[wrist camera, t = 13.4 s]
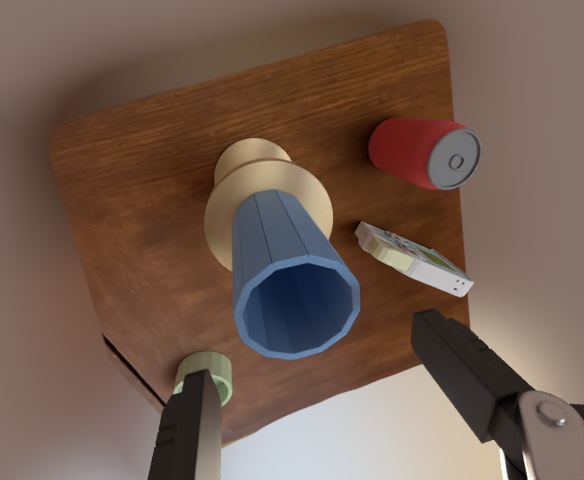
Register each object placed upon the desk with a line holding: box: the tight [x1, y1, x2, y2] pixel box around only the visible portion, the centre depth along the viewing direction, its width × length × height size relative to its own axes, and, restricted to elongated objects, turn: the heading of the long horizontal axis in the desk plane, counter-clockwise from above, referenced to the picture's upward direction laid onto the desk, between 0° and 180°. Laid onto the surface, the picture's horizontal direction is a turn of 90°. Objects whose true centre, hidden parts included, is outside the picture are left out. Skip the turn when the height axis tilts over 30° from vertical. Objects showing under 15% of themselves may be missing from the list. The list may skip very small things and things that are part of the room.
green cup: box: [172, 351, 232, 406], centre depth 45 cm, size 9×9×4 cm
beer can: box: [368, 117, 482, 190], centre depth 31 cm, size 7×7×12 cm
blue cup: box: [232, 189, 360, 360], centre depth 17 cm, size 6×6×10 cm
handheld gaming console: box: [355, 221, 474, 297], centre depth 39 cm, size 11×3×15 cm
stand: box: [204, 138, 333, 271], centre depth 28 cm, size 10×10×15 cm
